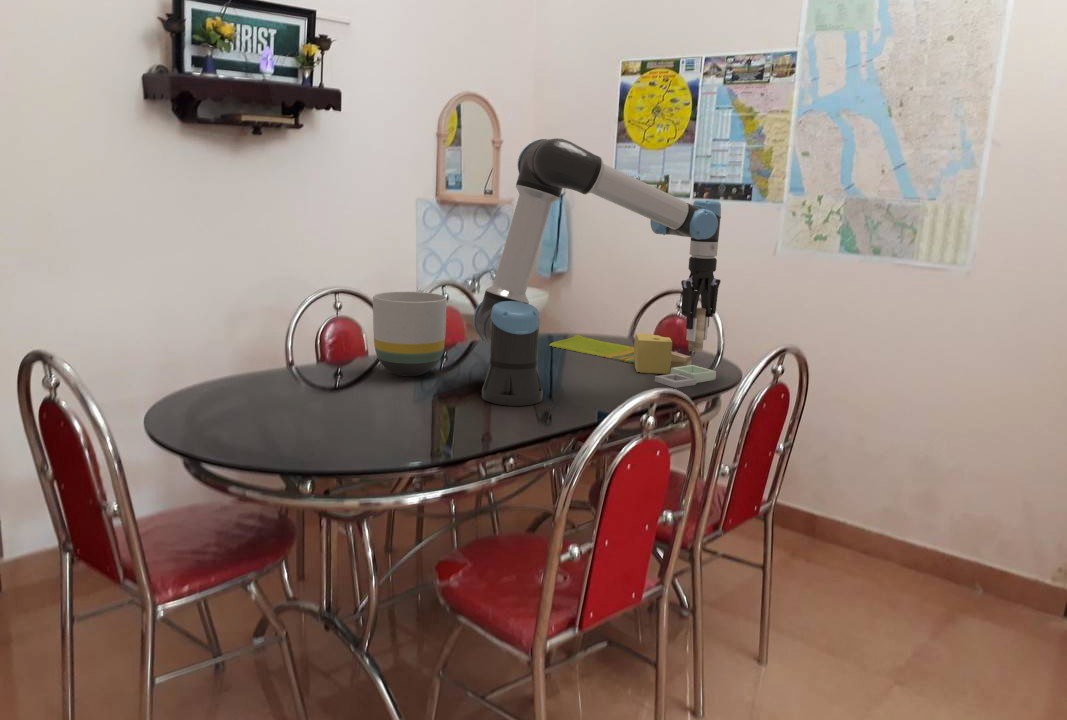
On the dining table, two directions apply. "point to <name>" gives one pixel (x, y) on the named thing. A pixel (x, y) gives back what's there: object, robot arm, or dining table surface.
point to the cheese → (652, 353)
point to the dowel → (698, 331)
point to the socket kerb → (679, 382)
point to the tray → (695, 373)
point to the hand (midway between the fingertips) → (696, 339)
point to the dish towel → (597, 348)
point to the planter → (409, 331)
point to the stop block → (680, 360)
